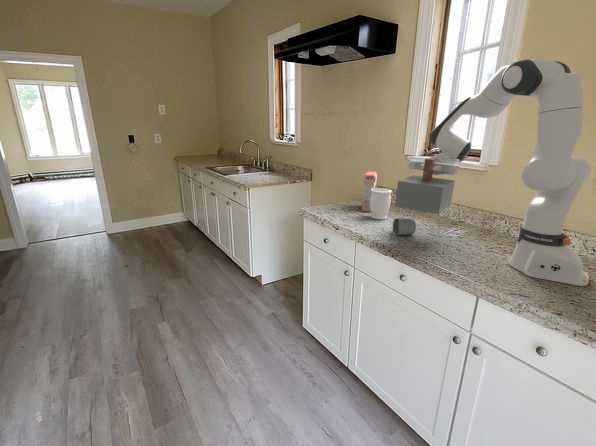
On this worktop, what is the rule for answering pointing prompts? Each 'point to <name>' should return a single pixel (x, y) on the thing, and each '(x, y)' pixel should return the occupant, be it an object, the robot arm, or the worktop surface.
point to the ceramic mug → (404, 226)
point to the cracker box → (368, 189)
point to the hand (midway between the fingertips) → (427, 168)
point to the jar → (380, 202)
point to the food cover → (425, 191)
